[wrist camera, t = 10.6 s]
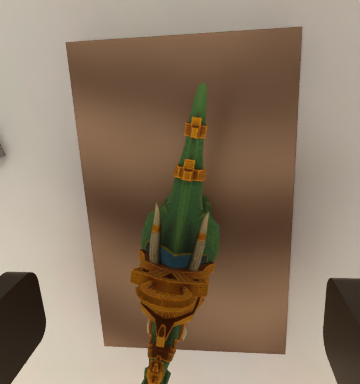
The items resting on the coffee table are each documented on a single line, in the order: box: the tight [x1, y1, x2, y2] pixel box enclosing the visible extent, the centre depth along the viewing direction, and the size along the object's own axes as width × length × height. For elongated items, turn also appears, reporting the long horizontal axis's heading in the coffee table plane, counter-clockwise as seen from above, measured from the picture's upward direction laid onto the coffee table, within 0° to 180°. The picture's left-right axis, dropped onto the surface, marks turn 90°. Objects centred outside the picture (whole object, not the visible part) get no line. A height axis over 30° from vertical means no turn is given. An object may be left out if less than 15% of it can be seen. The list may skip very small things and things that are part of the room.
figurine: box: [130, 83, 220, 384], centre depth 13 cm, size 3×12×8 cm, turn 172°
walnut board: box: [66, 27, 302, 354], centre depth 17 cm, size 16×10×1 cm, turn 3°
